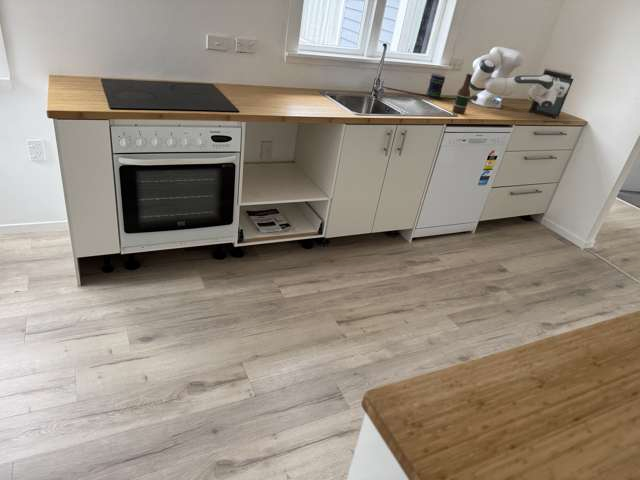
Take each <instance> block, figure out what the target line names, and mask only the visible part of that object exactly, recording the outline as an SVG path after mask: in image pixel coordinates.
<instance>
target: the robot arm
mask: <svg viewBox="0 0 640 480" xmlns="http://www.w3.org/2000/svg"><path fill="white" fill-rule="evenodd" d="M524 59H525V56H524V54H523V52H520V51H519V50H517V49H516V50H515V49H512V48H508V47H505V46H493V47H492V49H490V51H489V53H487V54H484V55H482V56H481V55H480V56H479V57H478V58H476V59H474V60H473V63H472V69H473V71H474V72H473V74H472V77H471V82H470V86H469V88H470V89H472V90H473V91H476V92H479V93H477V94H472V96H470V97H469V100H470V99H471V101H470V102H471V103H473V104H475V105H478V106H481V107H483V108H484V107H485V108H496V109H501V108H502V102H503V97H508V96H511V95H513V94H514V93H515V92H516V91H517V90H519V89H521V88H523V87H524V86H531V88H530V89H529V90H528V92H527V95H528V98H529V99H530V100H531V101H532V102H533V101H534V102H538V103H539V104H540V106H541V107H542V108H544V109H547V108H550V107H552V106H553V104H554V103H555V100H556V97H563V96H564V94H565V93H566V92H567V90H568V88H569V86H570V84H569V83H564V82H560V80H559V78H557V80H556V81H555V80H553V79H554V77H551V76H550V75H543V74H540V75H531V74H530V75H524V74H523V75H521V74H520V75H516V76H513V77H509V76H510V75H511V73H513V71H514V70H515V69H517V68H519V67H520V66H521V65H523V63H524ZM498 68H499V69H498ZM383 89H387V90H393V91H398V92H403V93H407V94H413V95H419V96H424V97H427V94H425V93H419V92H414V91H408V90H402V89H398V88H392V87H388V86H383ZM440 99H445V100H447V99H448V100H456V97H446V96H440Z"/></svg>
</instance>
